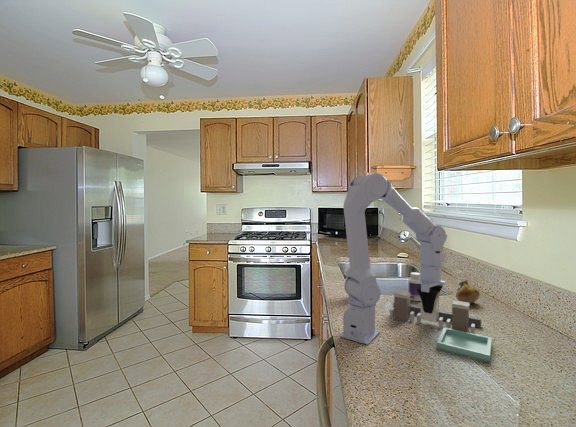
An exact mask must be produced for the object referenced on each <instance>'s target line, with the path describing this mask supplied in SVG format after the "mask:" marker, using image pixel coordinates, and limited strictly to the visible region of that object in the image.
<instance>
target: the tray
mask: <svg viewBox="0 0 576 427" xmlns="http://www.w3.org/2000/svg"><path fill="white" fill-rule="evenodd" d="M492 345H493V338H492V337H490V336H487V335H481V334H477V333H475V334H473V333H471V332H464V331H459V330H455V329H452V328H446V326H443V327H442V330H441V332H440V334H439V337H438V339H437V341H436V345H435V346H436V348H435V349H436V350H437V351H441V352H445V353H449V354H453V355H456V356H460V357H463V358H467V357H469V358H468V359H472V360H476V361H480V362H484V363H487V364H490V363H491V357H492V356H491V355H492Z"/></svg>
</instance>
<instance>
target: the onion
mask: <svg viewBox="0 0 576 427" xmlns="http://www.w3.org/2000/svg"><path fill="white" fill-rule="evenodd" d="M458 286H460V287H458V288H457V289H456V290H457V291H456V293H455V298H456V299H457V301H462V302H468V303H470V305H471V304H474V303H475V302H476V301H479V298H480V296H481V294H480V291H479V289H478V288H476V287H474V286H473V285H470V284H469V280H467V279H465V280H462V281H461V280H459V281H458Z"/></svg>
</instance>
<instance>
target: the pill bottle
mask: <svg viewBox="0 0 576 427" xmlns="http://www.w3.org/2000/svg"><path fill="white" fill-rule="evenodd" d="M409 276H410V278H409V279H408V280H407V281H408V282H407V283H408V284H407V292H409V293H410V301H413V302H421V298H420V295H419V293H418V292H417V288H418V287H421V284H420V282H419V278H420V272H413V271H412V272H410V275H409Z"/></svg>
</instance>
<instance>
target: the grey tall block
mask: <svg viewBox="0 0 576 427" xmlns="http://www.w3.org/2000/svg"><path fill="white" fill-rule="evenodd" d="M420 306H421V320H424V321H429V322H434V323H437V321H439V319H438V318H439V310H440V293H439V292H438V294H437V296H436V299H435V302H434V308H433V312H432V314H431V313H426V312H424V310H423V305H422V301H420Z"/></svg>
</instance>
